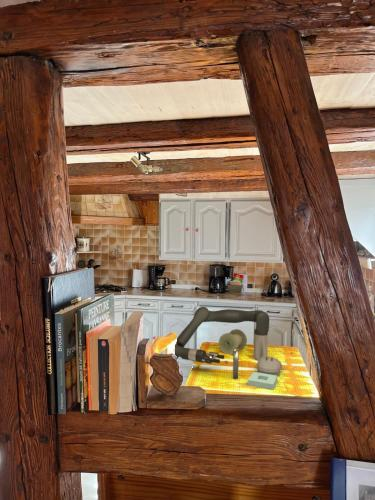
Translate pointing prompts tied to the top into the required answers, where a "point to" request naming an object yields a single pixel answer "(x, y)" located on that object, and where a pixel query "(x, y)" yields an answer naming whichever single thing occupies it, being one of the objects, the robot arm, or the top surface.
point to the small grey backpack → (269, 366)
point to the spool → (232, 341)
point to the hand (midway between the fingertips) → (222, 359)
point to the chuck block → (262, 380)
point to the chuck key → (235, 363)
